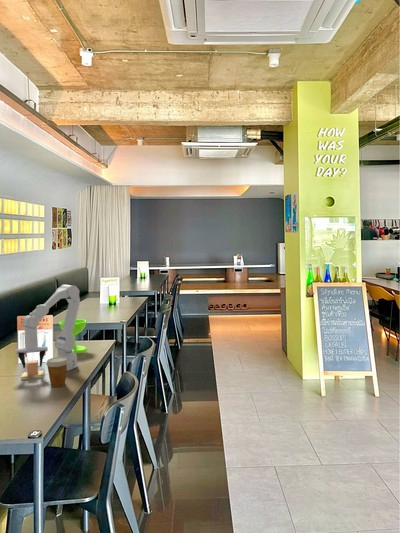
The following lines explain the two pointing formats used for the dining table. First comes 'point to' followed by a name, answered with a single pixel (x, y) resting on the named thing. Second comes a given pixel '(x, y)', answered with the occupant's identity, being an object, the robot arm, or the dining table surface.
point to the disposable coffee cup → (57, 371)
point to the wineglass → (77, 329)
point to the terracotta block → (32, 367)
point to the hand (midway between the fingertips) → (32, 366)
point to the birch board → (39, 375)
